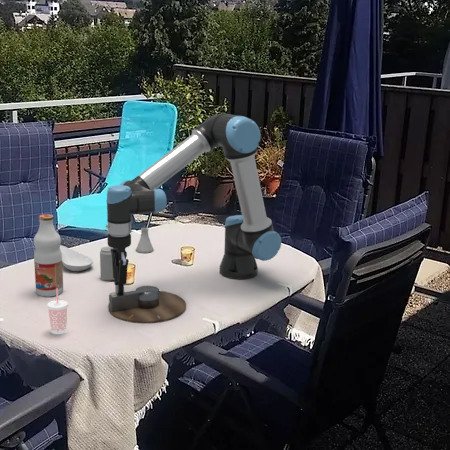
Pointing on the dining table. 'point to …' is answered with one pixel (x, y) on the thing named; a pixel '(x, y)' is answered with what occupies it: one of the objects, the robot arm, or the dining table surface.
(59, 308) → the beverage cup
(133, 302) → the dial
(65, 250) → the spoon rest
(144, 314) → the dial board
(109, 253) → the beverage can
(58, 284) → the fruit juice
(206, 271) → the dining table surface
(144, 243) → the flask
